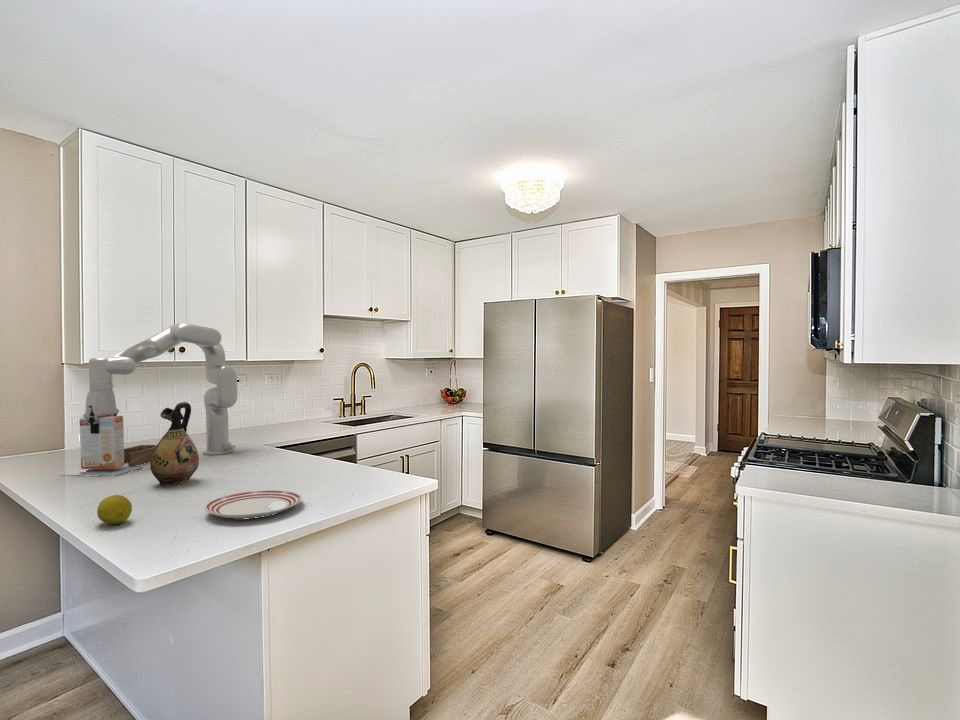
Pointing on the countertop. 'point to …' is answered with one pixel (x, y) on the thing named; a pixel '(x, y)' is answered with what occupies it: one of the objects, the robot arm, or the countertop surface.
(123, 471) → the mat
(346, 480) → the countertop surface
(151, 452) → the holder
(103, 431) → the cracker box
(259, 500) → the dinner plate
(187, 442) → the ceramic jug
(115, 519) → the lemon
